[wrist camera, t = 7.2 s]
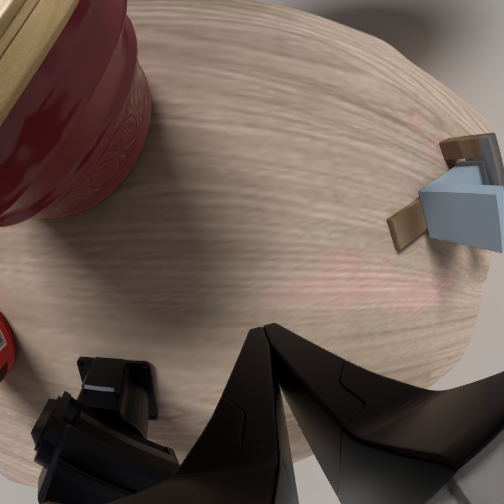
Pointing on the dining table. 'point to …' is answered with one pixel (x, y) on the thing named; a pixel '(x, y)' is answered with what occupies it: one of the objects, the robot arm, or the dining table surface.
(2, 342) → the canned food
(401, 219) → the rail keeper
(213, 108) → the dining table surface
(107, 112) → the canister
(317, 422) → the robot arm
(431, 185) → the light blue l-shaped block
